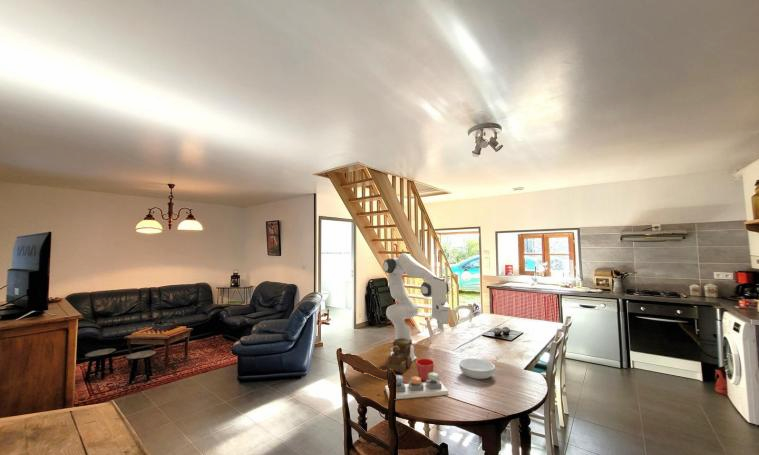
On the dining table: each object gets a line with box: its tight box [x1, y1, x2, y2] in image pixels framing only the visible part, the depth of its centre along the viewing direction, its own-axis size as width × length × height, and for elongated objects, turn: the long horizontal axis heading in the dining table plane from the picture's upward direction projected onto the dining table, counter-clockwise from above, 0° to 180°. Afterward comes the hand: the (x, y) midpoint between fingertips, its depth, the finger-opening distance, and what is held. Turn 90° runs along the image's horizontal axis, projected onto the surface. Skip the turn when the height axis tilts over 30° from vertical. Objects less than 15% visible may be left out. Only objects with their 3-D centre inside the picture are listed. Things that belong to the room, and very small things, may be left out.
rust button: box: [410, 376, 422, 385], centre depth 166 cm, size 6×6×4 cm
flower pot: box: [415, 358, 435, 382], centre depth 183 cm, size 11×11×10 cm
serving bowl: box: [458, 358, 496, 380], centre depth 186 cm, size 21×21×7 cm
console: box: [384, 379, 449, 400], centre depth 166 cm, size 12×32×4 cm, turn 98°
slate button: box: [395, 374, 404, 386], centre depth 165 cm, size 6×6×4 cm
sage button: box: [428, 371, 439, 383], centre depth 168 cm, size 6×6×4 cm
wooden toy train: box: [386, 339, 413, 374], centre depth 199 cm, size 20×11×17 cm, turn 152°
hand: (440, 328), depth 179 cm, fingers closed
